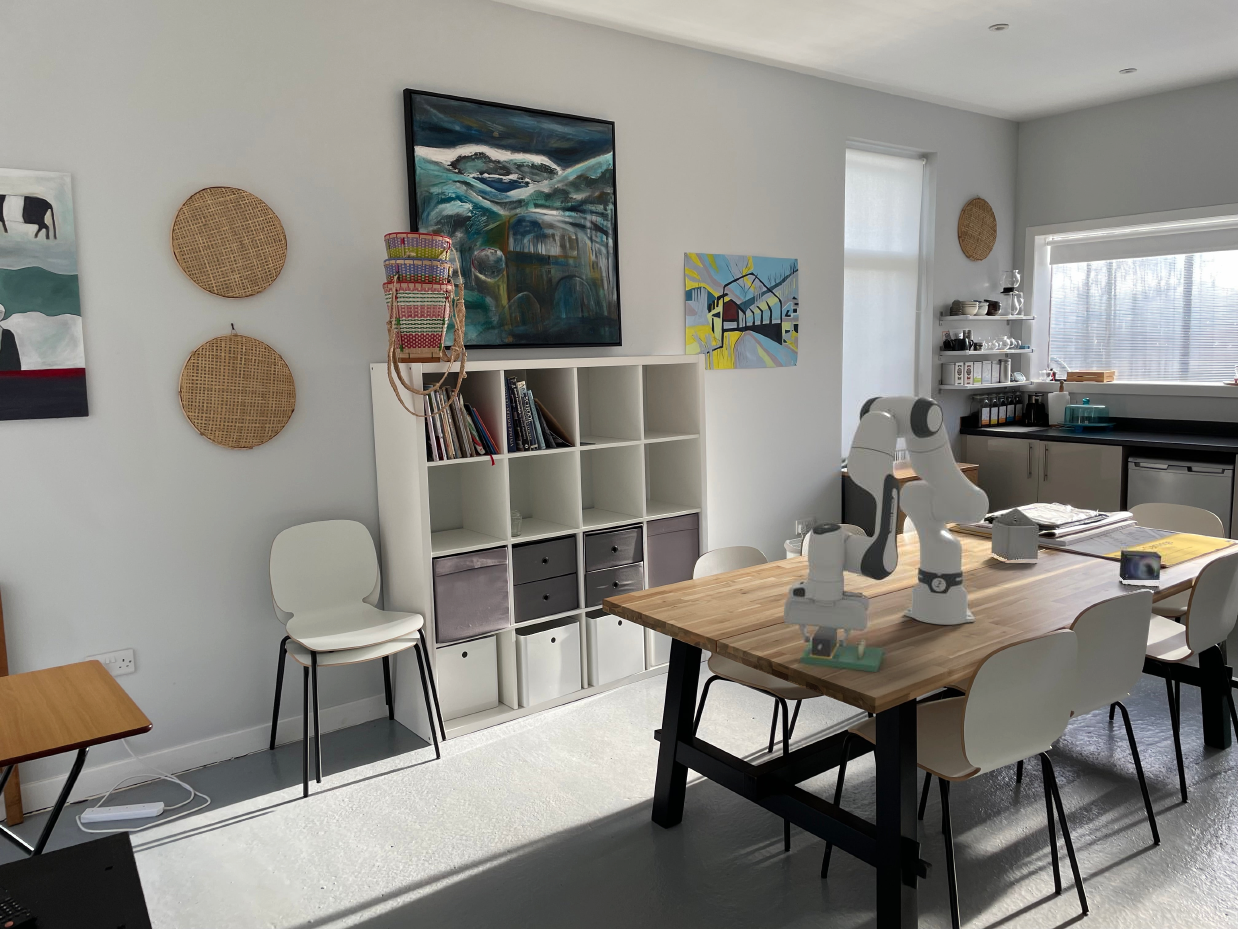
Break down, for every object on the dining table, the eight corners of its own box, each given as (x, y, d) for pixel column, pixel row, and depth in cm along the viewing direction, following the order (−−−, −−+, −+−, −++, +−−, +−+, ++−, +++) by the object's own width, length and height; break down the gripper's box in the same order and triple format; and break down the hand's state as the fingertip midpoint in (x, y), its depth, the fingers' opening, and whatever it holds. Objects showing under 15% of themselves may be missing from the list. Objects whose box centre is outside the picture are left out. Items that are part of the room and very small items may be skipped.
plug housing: (819, 643, 229) (819, 626, 228) (836, 645, 227) (837, 628, 226) (809, 658, 217) (809, 641, 216) (828, 660, 215) (828, 643, 215)
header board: (811, 646, 232) (811, 629, 231) (883, 654, 225) (884, 636, 224) (800, 663, 219) (800, 645, 218) (876, 672, 212) (877, 653, 211)
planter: (983, 560, 328) (985, 508, 326) (991, 557, 334) (993, 505, 332) (1030, 567, 317) (1032, 513, 315) (1037, 563, 323) (1040, 510, 321)
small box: (1123, 585, 290) (1124, 553, 289) (1118, 580, 296) (1120, 549, 295) (1160, 587, 287) (1161, 555, 286) (1154, 582, 293) (1156, 551, 292)
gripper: (870, 590, 220) (869, 644, 222) (787, 583, 228) (787, 636, 230) (867, 596, 215) (865, 652, 216) (782, 589, 222) (781, 643, 224)
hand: (824, 644), depth 223 cm, fingers open, 7 cm apart
